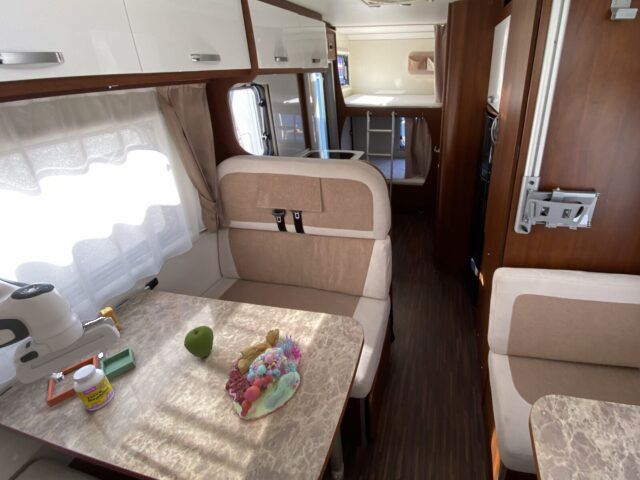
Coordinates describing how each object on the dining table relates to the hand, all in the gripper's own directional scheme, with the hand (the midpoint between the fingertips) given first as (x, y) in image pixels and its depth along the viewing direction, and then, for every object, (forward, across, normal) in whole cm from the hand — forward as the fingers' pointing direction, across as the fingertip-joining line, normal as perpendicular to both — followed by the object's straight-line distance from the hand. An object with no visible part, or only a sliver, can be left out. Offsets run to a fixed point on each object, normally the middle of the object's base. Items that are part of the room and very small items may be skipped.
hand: (83, 369), depth 88 cm
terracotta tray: (+14, +6, -14) cm, 21 cm away
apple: (+14, -28, +5) cm, 31 cm away
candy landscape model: (+14, -40, +29) cm, 52 cm away
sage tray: (+14, -5, -11) cm, 18 cm away
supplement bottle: (+14, 0, 0) cm, 14 cm away
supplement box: (+14, -5, -33) cm, 36 cm away
